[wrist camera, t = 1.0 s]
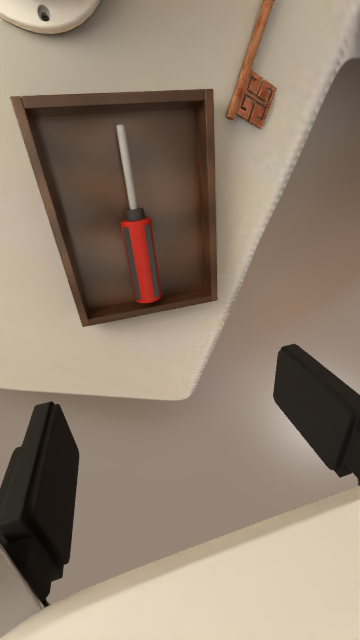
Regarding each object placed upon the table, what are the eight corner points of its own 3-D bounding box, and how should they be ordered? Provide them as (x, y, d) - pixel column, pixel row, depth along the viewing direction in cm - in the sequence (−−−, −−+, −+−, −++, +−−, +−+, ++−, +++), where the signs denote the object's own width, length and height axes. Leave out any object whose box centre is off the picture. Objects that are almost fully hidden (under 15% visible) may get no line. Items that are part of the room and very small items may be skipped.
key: (255, 135, 28) (327, -58, 23) (260, 134, 28) (336, -66, 22) (211, 109, 26) (280, -116, 20) (216, 107, 25) (288, -127, 20)
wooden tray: (20, 106, 22) (9, 96, 20) (201, 98, 25) (213, 88, 23) (84, 315, 32) (82, 327, 30) (208, 291, 35) (217, 300, 33)
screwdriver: (104, 129, 24) (99, 123, 22) (138, 126, 25) (138, 120, 22) (135, 294, 33) (134, 304, 30) (160, 291, 33) (162, 301, 30)
